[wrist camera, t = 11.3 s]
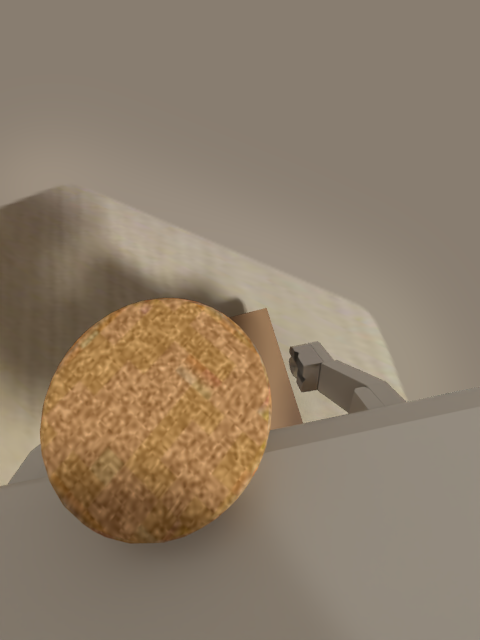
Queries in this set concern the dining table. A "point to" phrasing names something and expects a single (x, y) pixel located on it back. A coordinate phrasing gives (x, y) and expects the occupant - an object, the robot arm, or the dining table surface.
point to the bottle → (156, 420)
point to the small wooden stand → (271, 367)
